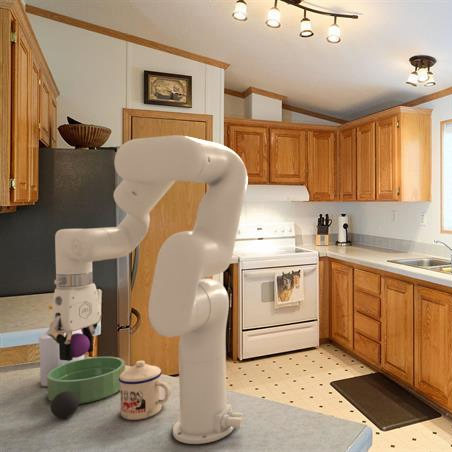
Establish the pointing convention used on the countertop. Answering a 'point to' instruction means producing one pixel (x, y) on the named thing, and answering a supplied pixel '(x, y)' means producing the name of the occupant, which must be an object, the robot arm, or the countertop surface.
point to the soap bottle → (51, 354)
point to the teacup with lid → (141, 391)
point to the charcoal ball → (64, 404)
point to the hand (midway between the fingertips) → (76, 354)
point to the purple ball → (79, 344)
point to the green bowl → (86, 378)
